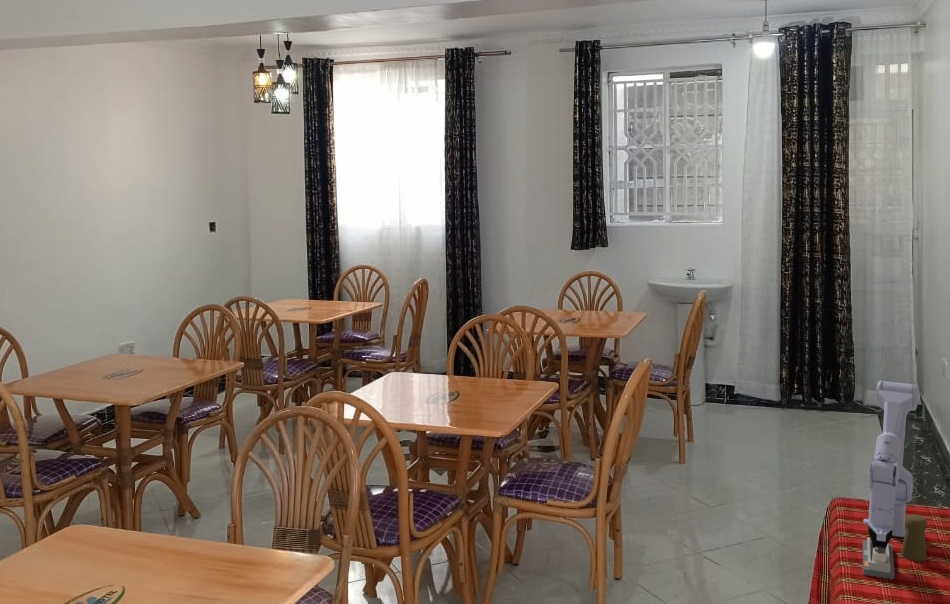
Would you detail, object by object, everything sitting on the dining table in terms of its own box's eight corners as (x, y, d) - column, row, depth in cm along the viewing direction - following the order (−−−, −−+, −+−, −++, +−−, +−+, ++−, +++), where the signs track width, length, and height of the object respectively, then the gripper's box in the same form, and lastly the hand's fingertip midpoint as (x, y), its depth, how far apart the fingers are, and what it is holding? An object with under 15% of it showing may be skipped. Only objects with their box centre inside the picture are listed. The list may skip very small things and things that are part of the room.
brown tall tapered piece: (929, 562, 222) (932, 522, 220) (904, 560, 223) (907, 520, 221) (922, 551, 228) (925, 512, 226) (897, 550, 229) (900, 511, 227)
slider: (872, 562, 219) (873, 544, 218) (885, 564, 217) (886, 546, 217) (872, 567, 216) (873, 549, 215) (885, 569, 215) (886, 551, 214)
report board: (862, 545, 232) (863, 533, 231) (891, 549, 229) (892, 537, 229) (863, 574, 216) (864, 561, 215) (894, 579, 213) (895, 566, 212)
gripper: (864, 493, 226) (861, 541, 229) (864, 514, 213) (861, 565, 216) (893, 497, 224) (890, 546, 226) (896, 518, 210) (892, 570, 213)
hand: (878, 556), depth 220 cm, fingers closed
